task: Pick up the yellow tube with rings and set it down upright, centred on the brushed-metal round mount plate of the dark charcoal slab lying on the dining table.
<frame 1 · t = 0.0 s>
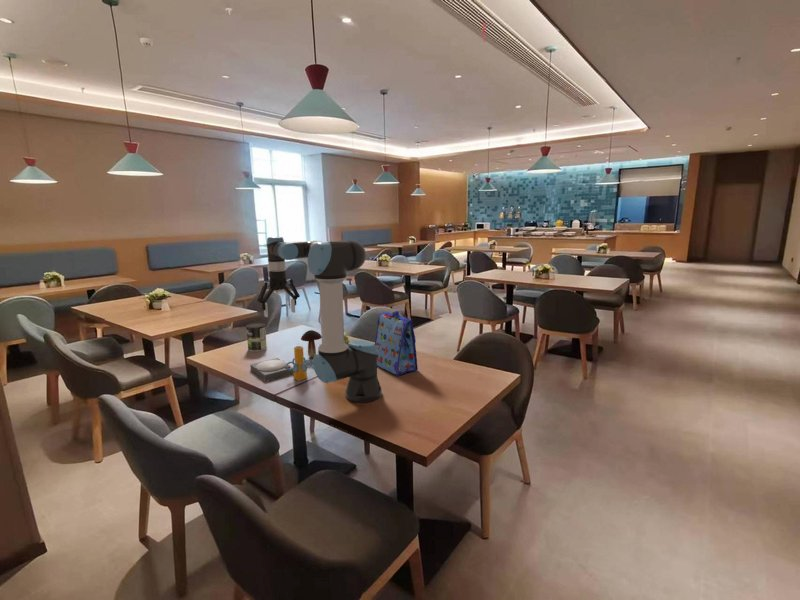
hand: (280, 314, 191), 28 cm above the table, fingers open, 13 cm apart
yellow tube with rings: (300, 378, 186), on the table
mount slab: (271, 371, 194), on the table
coffee can: (257, 349, 228), on the table
decorative mushroom: (312, 357, 214), on the table
lunch bag: (394, 367, 199), on the table
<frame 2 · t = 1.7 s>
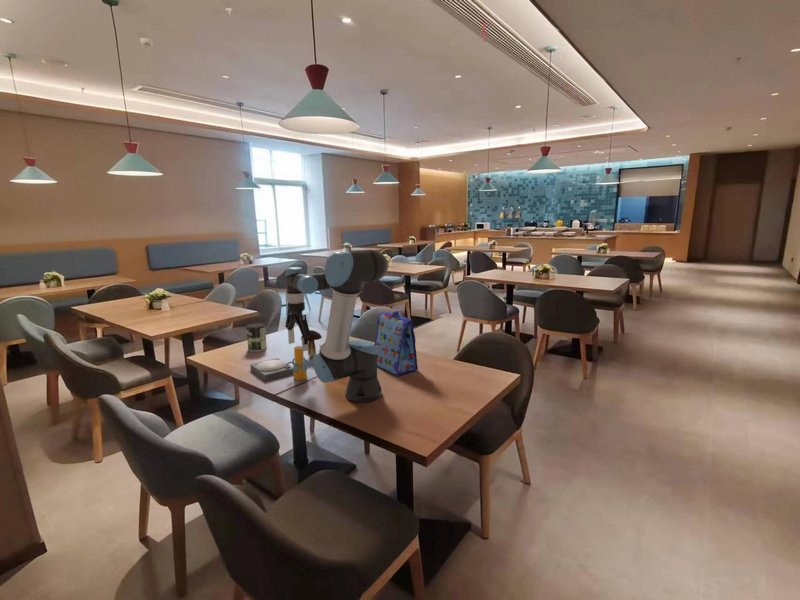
hand: (298, 346, 183), 15 cm above the table, fingers open, 13 cm apart
nothing on the table moved.
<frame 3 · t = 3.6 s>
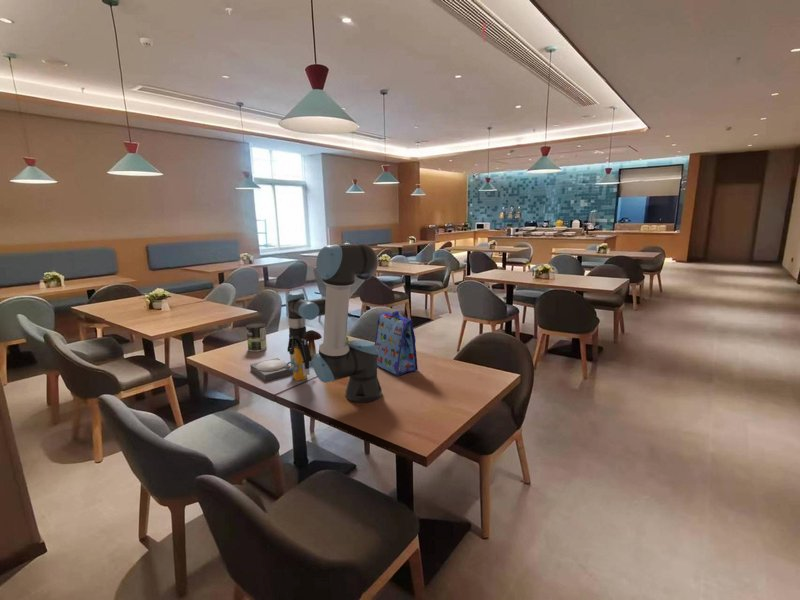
hand: (300, 371, 185), 3 cm above the table, fingers closed on yellow tube with rings, 12 cm apart
yellow tube with rings: (300, 378, 186), on the table, touching gripper
everything else where it was.
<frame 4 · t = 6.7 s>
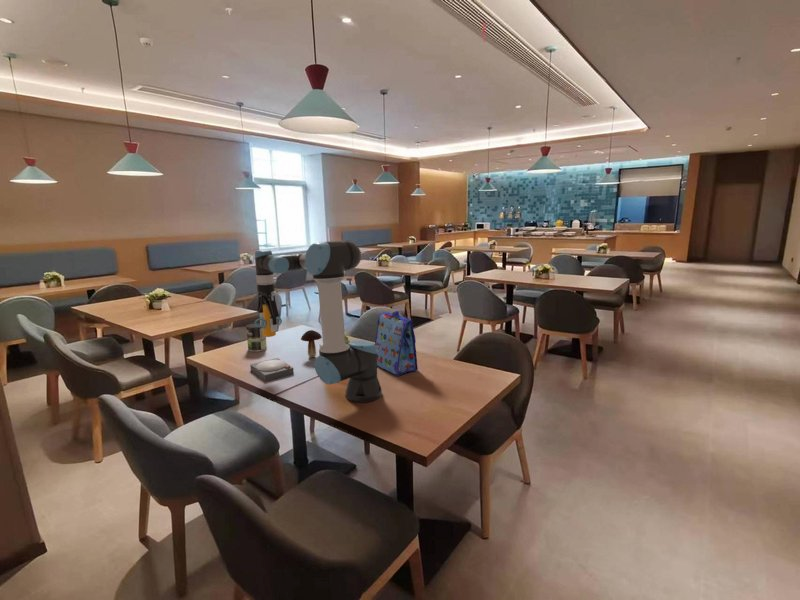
hand: (268, 328, 189), 22 cm above the table, fingers closed on yellow tube with rings, 12 cm apart
yellow tube with rings: (269, 335, 190), point 18 cm above the table, touching gripper
everything else where it was.
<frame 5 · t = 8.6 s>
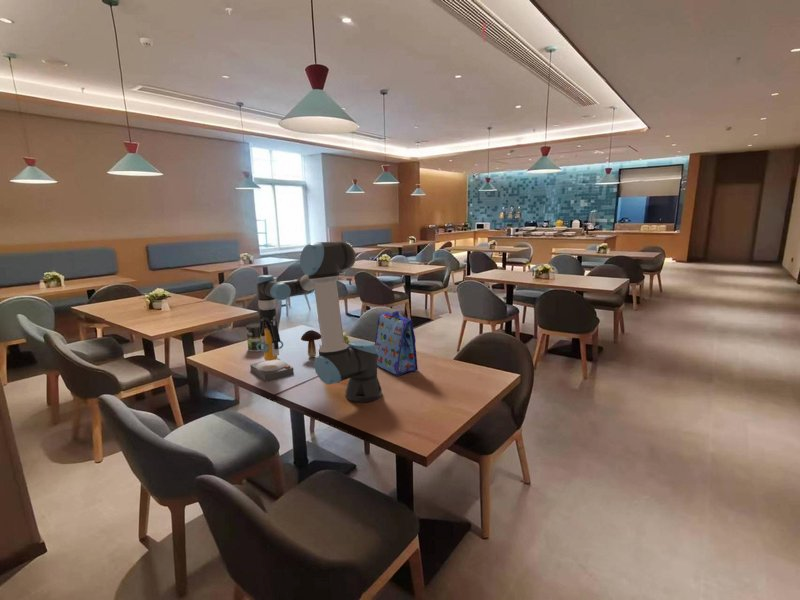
hand: (270, 351, 192), 10 cm above the table, fingers closed on yellow tube with rings, 12 cm apart
yellow tube with rings: (271, 359, 192), point 7 cm above the table, touching gripper
everything else where it was.
when the fingers open (9 cm above the table, at t = 10.1 s): yellow tube with rings drops 2 cm, resting on mount slab.
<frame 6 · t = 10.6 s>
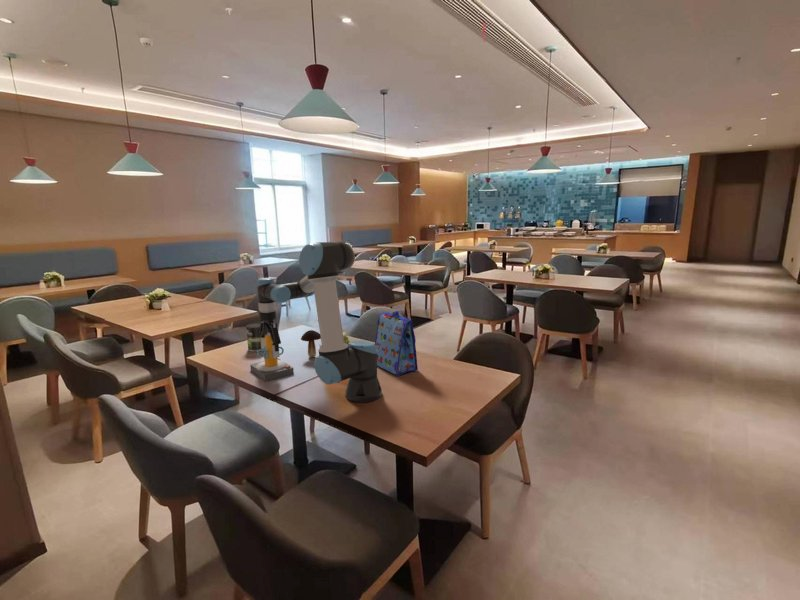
hand: (270, 353, 192), 9 cm above the table, fingers open, 13 cm apart
yellow tube with rings: (271, 365, 193), point 3 cm above the table, touching mount slab
everything else where it was.
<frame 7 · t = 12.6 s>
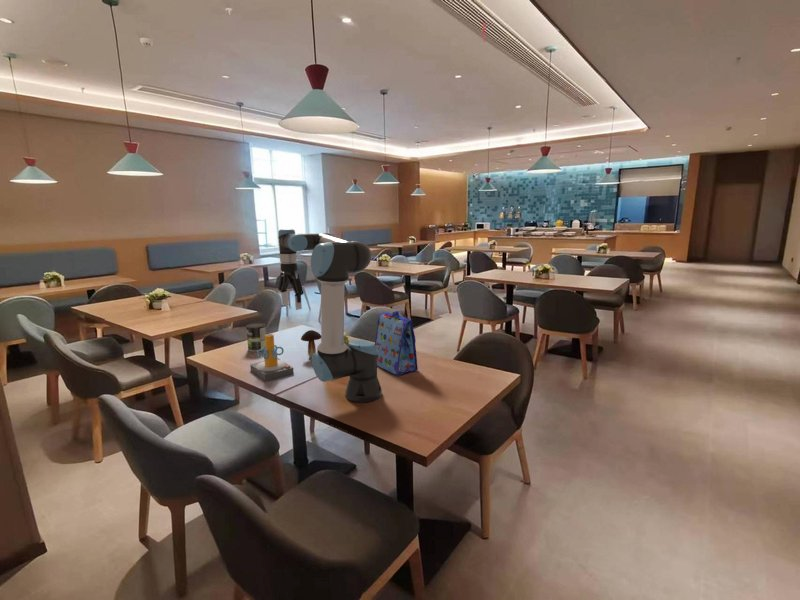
hand: (291, 307, 190), 31 cm above the table, fingers open, 13 cm apart
nothing on the table moved.
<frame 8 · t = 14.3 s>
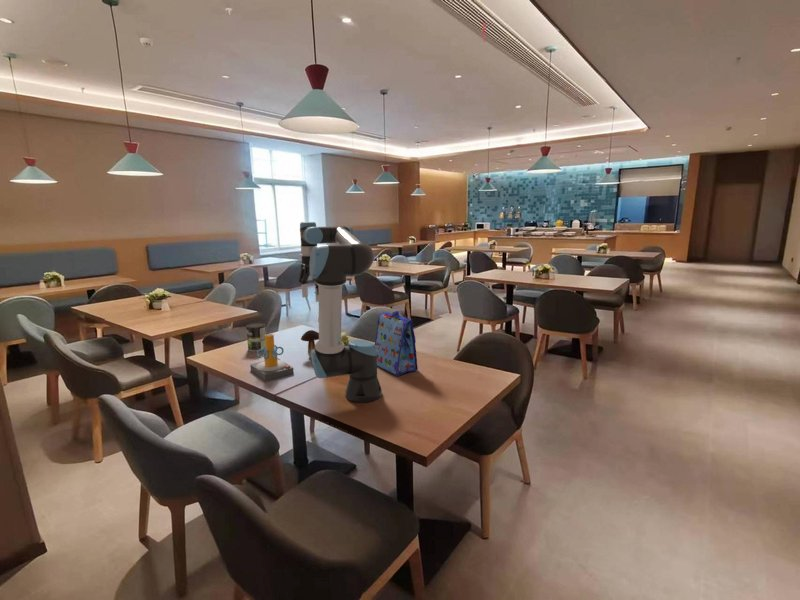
hand: (311, 299, 193), 35 cm above the table, fingers open, 13 cm apart
nothing on the table moved.
at the end: yellow tube with rings inside the target area on the mount slab (0.0 cm from its centre), point 3.4 cm above the mount slab's base; yellow tube with rings tilted 0°; the gripper is holding nothing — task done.
